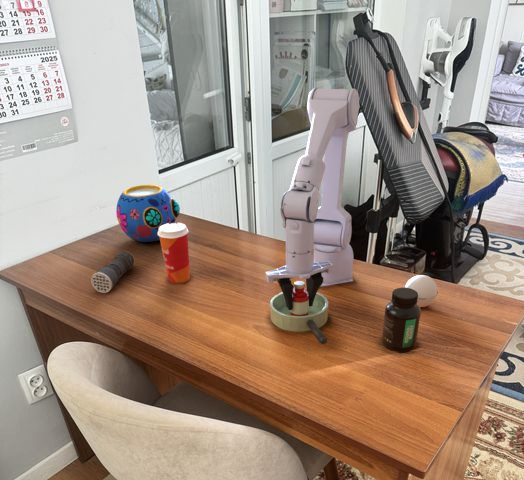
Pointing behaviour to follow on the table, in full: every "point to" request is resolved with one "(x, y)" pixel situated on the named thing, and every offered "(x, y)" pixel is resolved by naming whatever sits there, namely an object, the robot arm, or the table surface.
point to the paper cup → (175, 251)
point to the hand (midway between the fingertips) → (299, 306)
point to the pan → (298, 323)
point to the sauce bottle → (300, 300)
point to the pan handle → (316, 332)
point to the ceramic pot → (145, 211)
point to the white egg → (423, 289)
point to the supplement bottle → (401, 321)
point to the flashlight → (112, 272)
